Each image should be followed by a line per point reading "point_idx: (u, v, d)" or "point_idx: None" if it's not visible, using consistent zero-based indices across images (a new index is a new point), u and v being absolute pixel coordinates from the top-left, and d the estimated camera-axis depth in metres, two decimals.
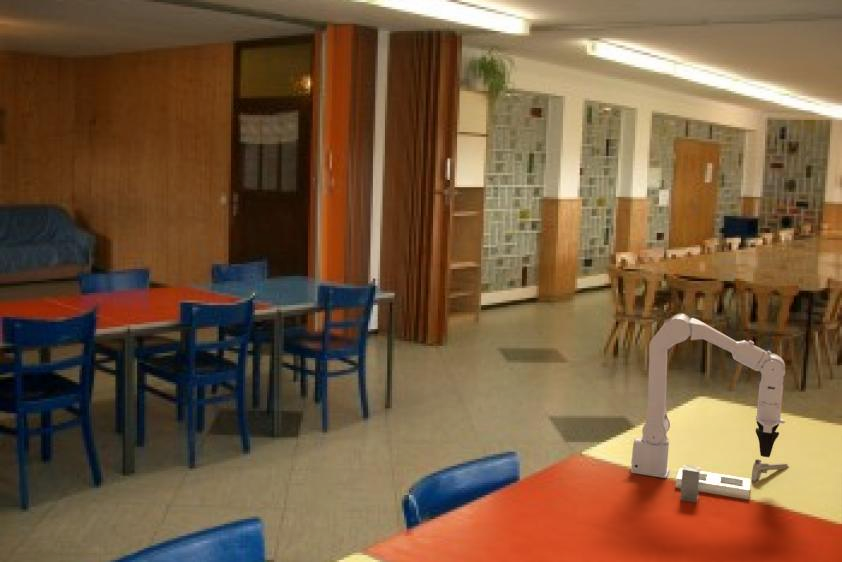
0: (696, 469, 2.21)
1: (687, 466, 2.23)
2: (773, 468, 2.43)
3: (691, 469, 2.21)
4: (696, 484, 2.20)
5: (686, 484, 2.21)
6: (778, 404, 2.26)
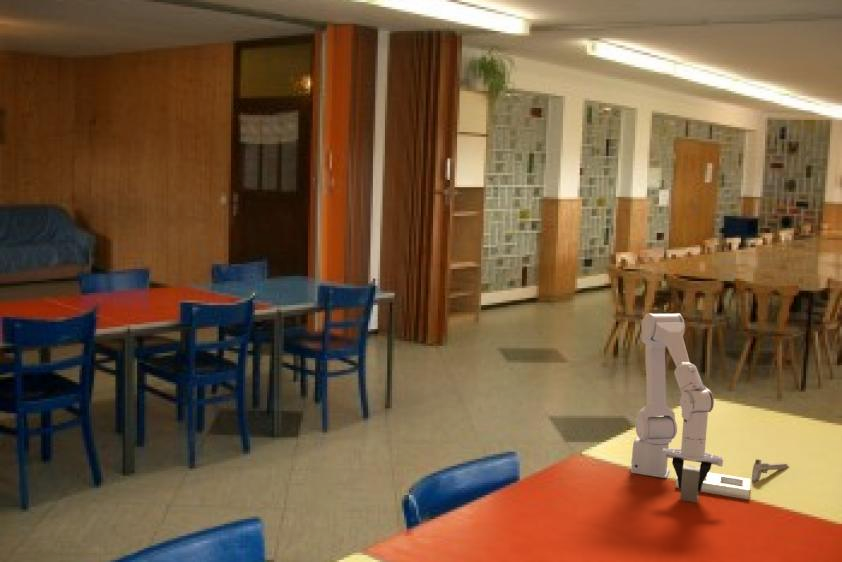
0: (696, 469, 2.21)
1: (687, 466, 2.23)
2: (773, 468, 2.44)
3: (691, 469, 2.21)
4: (696, 484, 2.20)
5: (686, 484, 2.21)
6: (685, 437, 2.20)
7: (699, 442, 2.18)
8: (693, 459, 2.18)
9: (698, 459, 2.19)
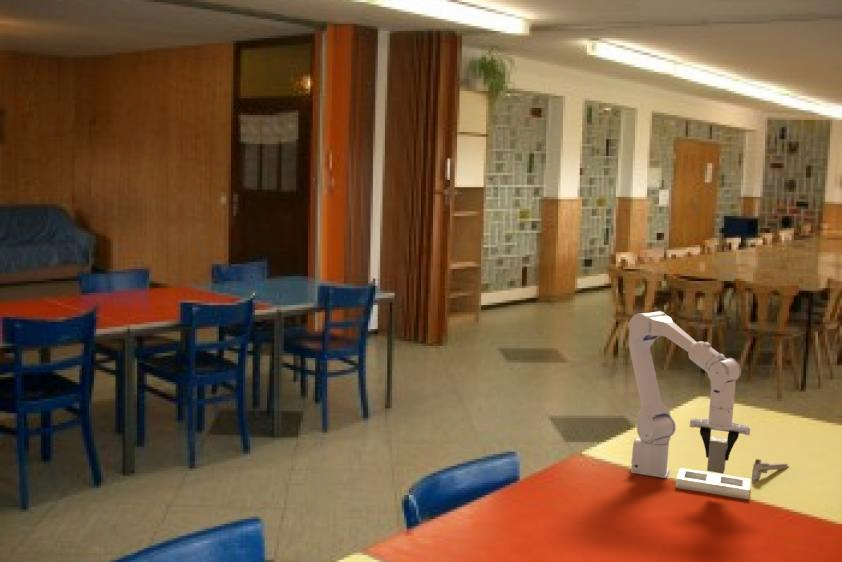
0: (723, 440, 2.24)
1: (714, 438, 2.26)
2: (773, 468, 2.44)
3: (718, 441, 2.24)
4: (723, 455, 2.23)
5: (713, 455, 2.24)
6: (712, 407, 2.23)
7: (727, 411, 2.21)
8: (721, 428, 2.21)
9: (726, 428, 2.22)
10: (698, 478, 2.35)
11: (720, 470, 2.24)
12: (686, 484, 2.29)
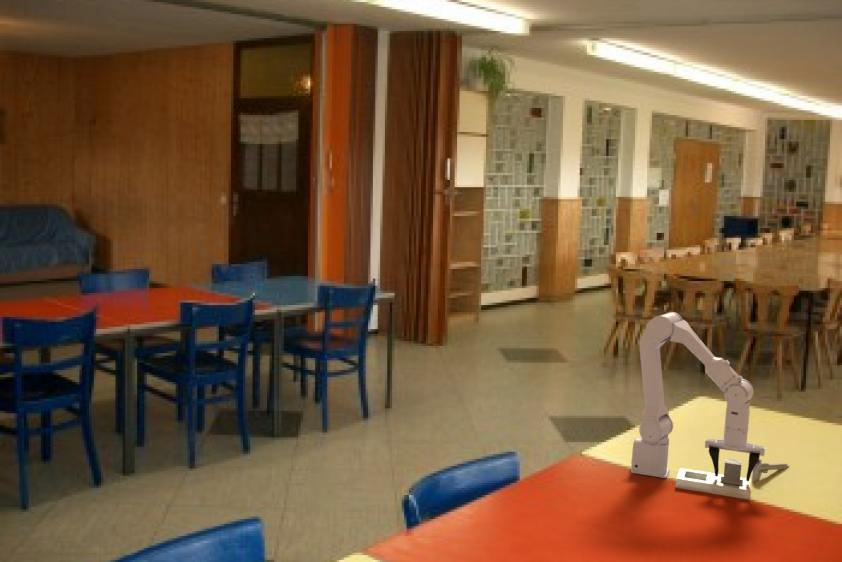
0: (738, 462, 2.28)
1: (729, 459, 2.30)
2: (773, 468, 2.44)
3: (733, 463, 2.27)
4: (738, 477, 2.26)
5: (728, 477, 2.27)
6: (728, 428, 2.26)
7: (742, 432, 2.25)
8: (736, 449, 2.24)
9: (741, 449, 2.25)
10: (698, 478, 2.35)
11: None
12: (686, 484, 2.29)
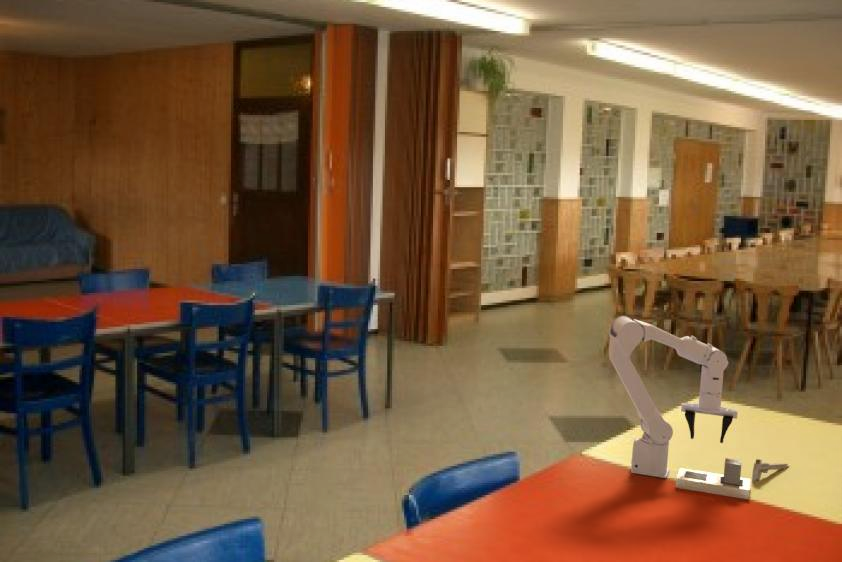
0: (738, 462, 2.28)
1: (729, 459, 2.30)
2: (773, 468, 2.44)
3: (733, 463, 2.27)
4: (738, 477, 2.26)
5: (728, 477, 2.27)
6: (702, 392, 2.38)
7: (716, 396, 2.37)
8: (710, 412, 2.36)
9: (715, 412, 2.37)
10: (698, 478, 2.35)
11: None
12: (686, 484, 2.29)
